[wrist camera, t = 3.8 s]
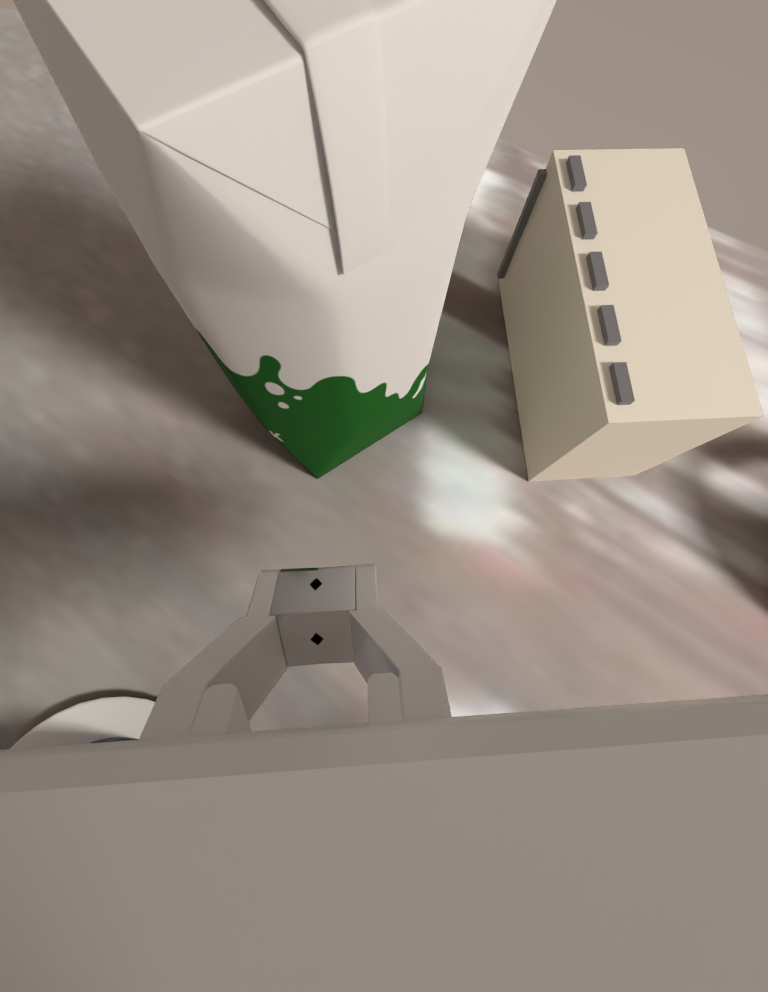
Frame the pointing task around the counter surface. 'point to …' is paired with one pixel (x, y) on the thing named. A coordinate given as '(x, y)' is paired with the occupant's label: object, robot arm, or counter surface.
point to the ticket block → (619, 318)
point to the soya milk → (298, 179)
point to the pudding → (91, 723)
